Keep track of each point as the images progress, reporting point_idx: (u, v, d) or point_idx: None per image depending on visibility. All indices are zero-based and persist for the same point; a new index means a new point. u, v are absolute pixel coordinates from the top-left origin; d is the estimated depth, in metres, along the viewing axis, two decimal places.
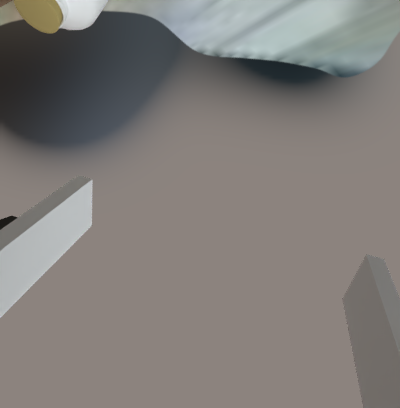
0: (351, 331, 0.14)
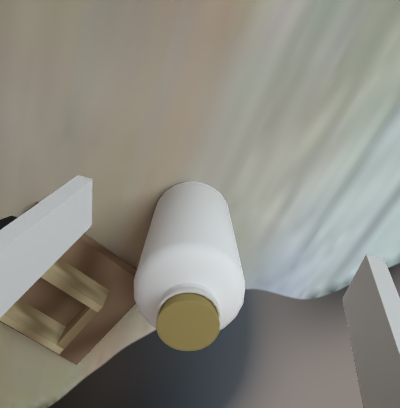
0: (351, 331, 0.14)
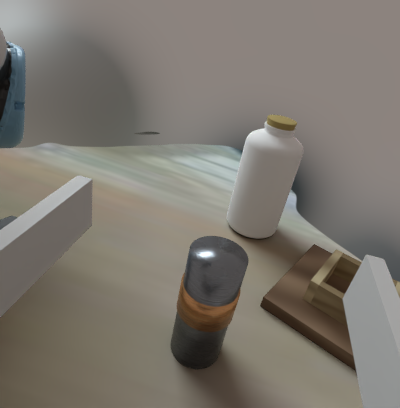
0: (351, 331, 0.14)
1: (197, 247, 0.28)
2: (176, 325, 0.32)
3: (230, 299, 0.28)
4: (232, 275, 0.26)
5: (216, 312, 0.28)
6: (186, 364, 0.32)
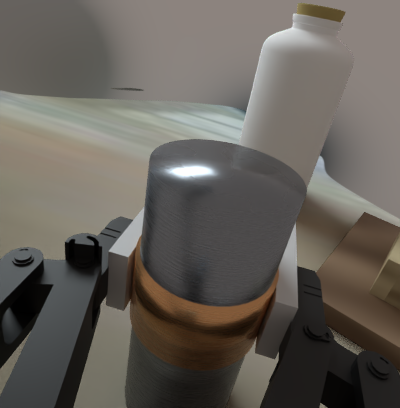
0: None
1: (171, 154, 0.11)
2: (131, 349, 0.14)
3: (259, 287, 0.11)
4: (271, 213, 0.09)
5: (221, 322, 0.11)
6: None
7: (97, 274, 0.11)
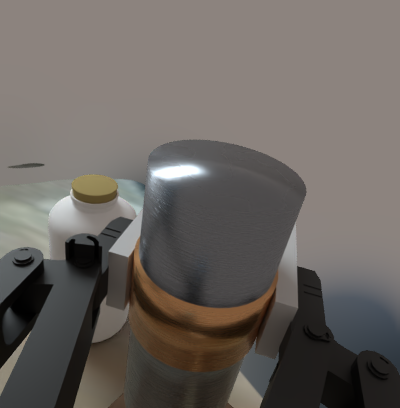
0: None
1: (170, 154, 0.11)
2: (130, 351, 0.14)
3: (258, 288, 0.11)
4: (270, 214, 0.09)
5: (220, 324, 0.10)
6: None
7: (97, 274, 0.11)
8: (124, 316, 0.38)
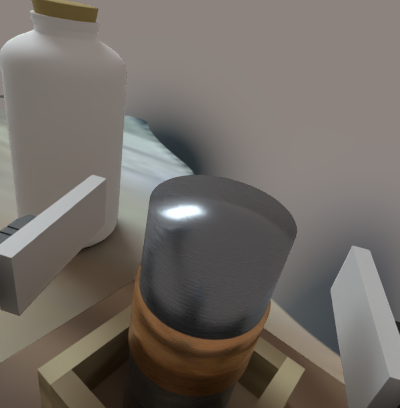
0: (337, 319, 0.14)
1: (170, 194, 0.12)
2: (129, 372, 0.15)
3: (251, 321, 0.11)
4: (262, 259, 0.10)
5: (215, 354, 0.11)
6: None
7: None
8: (111, 219, 0.29)
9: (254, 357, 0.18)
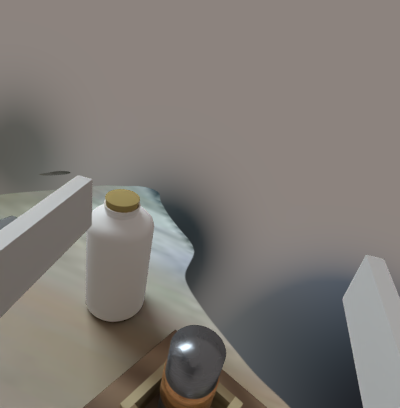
0: (351, 330, 0.14)
1: (177, 342, 0.30)
2: (159, 406, 0.33)
3: (208, 391, 0.30)
4: (209, 374, 0.28)
5: (194, 404, 0.30)
6: None
7: None
8: (141, 301, 0.48)
9: (219, 396, 0.36)
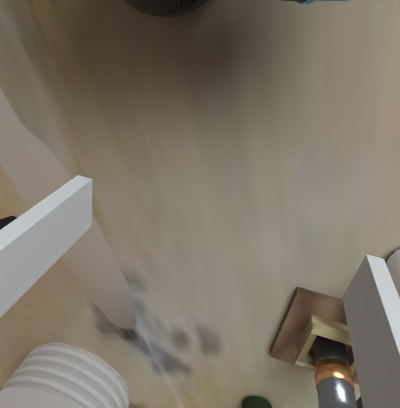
0: (351, 330, 0.14)
1: (336, 403, 0.46)
2: (321, 350, 0.53)
3: None
4: None
5: None
6: None
7: None
8: None
9: None
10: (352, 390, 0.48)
